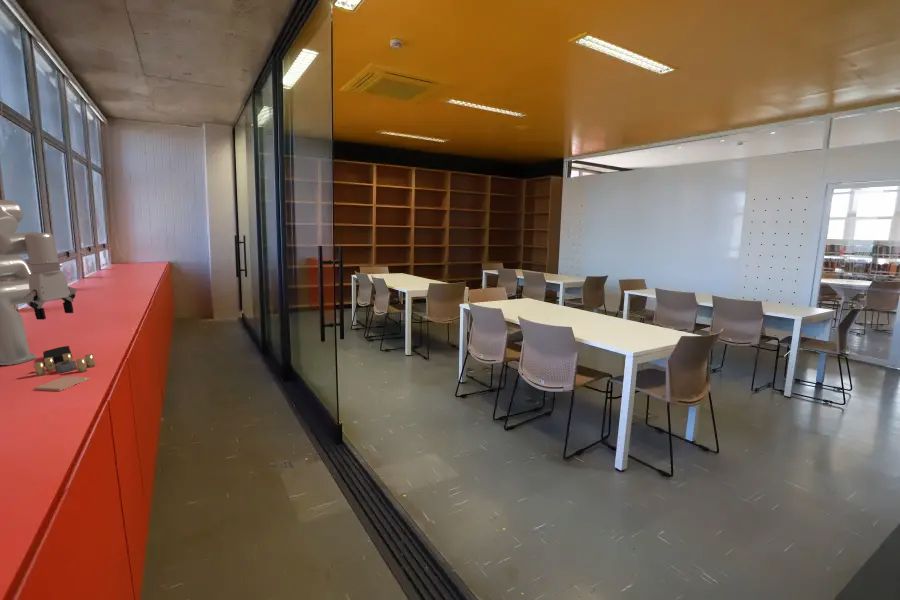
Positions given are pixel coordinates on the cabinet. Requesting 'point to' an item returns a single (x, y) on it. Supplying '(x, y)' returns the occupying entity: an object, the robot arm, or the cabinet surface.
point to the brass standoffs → (66, 357)
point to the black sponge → (57, 354)
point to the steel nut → (65, 366)
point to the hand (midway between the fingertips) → (55, 316)
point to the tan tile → (61, 383)
